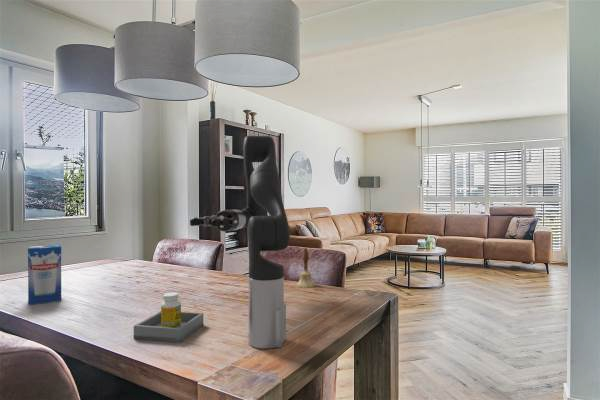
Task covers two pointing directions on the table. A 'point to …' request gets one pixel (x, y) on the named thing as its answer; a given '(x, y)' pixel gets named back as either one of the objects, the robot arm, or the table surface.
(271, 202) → the robot arm
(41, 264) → the milk carton
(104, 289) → the table surface
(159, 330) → the tray
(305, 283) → the hand bell
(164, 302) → the supplement bottle
